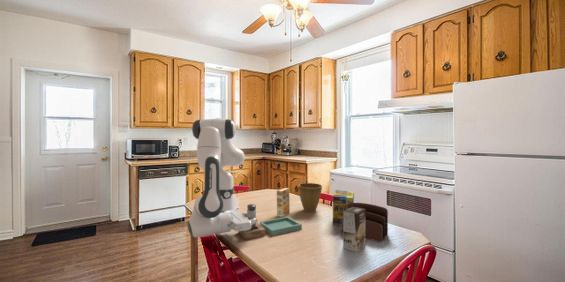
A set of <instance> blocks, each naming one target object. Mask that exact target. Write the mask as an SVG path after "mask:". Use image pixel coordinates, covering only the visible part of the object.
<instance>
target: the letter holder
mask: <svg viewBox="0 0 565 282" xmlns="http://www.w3.org/2000/svg"><path fill="white" fill-rule="evenodd" d="M351 207H358V208H363V209H366V218H365V240H371V241H375V242H380V243H383V242H384V241H385V240H386V238H387V237H388V235H389V233H388V230H389V229H388V227H389V226H388V225H389V223H388V221H389V219H388V218H389V216H388V215H389V214H388V213H389V212H388V209H387V208H386V207H383V206H379V205H376V204H371V203H364V202H355V201H354V202H351V203H348V209H349V208H351ZM340 234H343V217H342V218H341V226H340Z"/></svg>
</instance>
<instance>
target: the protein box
mask: <svg viewBox="0 0 565 282" xmlns="http://www.w3.org/2000/svg"><path fill="white" fill-rule="evenodd" d="M354 199H355V192H354V191H349V190H346V191H345V190H335V192H334V194H333V196H332V225H333V226H340V227H341V218H342V217H344V210H346V209H348V203H351V202H354V203H355V200H354Z"/></svg>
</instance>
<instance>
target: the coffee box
mask: <svg viewBox="0 0 565 282" xmlns="http://www.w3.org/2000/svg"><path fill="white" fill-rule="evenodd" d="M365 218H366V209H363V208H358V207H351V208H349V209H346V210H344V217H343V233H342V234H343V235H342V241H343V242H342V243H343V244H342V248H343V249H347V250H349V251H353V252H359V251H360V250H361V249H362V248H363V247H364V246H365V245H366V238H365Z"/></svg>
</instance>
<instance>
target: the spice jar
mask: <svg viewBox="0 0 565 282" xmlns="http://www.w3.org/2000/svg"><path fill="white" fill-rule="evenodd" d="M246 206H247V207H246V208H247V212H246V213H247V217H246V218H247V219H249V220H252V219H253V218H256V219H257V214H256V213H257V209H256V207H257V205H256V204H253V203H252V204H247V205H246ZM254 229H256V223H254V224H252V225H251V229H250V230H254Z"/></svg>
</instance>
